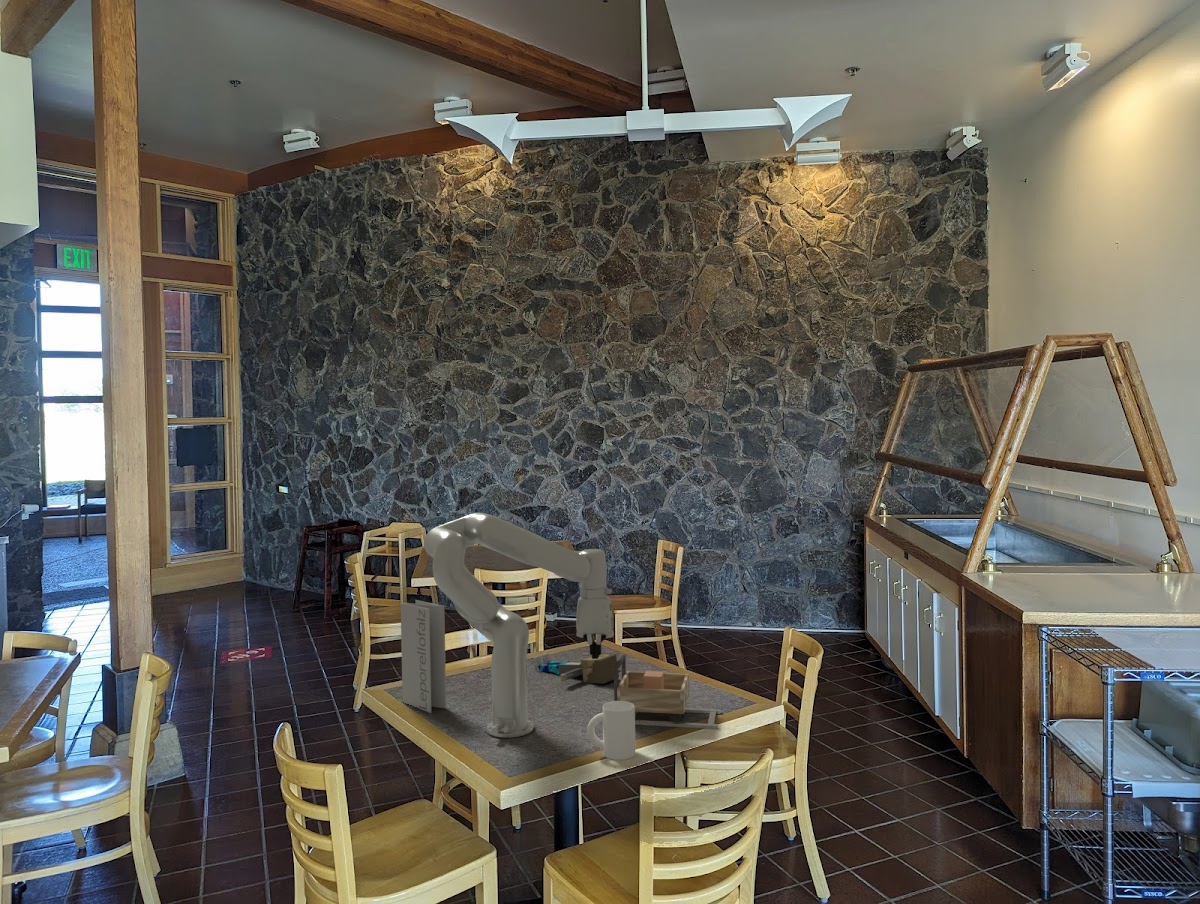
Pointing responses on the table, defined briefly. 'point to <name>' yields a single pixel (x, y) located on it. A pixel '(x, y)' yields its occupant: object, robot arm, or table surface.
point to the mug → (615, 730)
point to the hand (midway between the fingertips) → (595, 657)
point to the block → (653, 680)
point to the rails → (689, 725)
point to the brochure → (423, 655)
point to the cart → (652, 691)
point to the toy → (580, 668)
